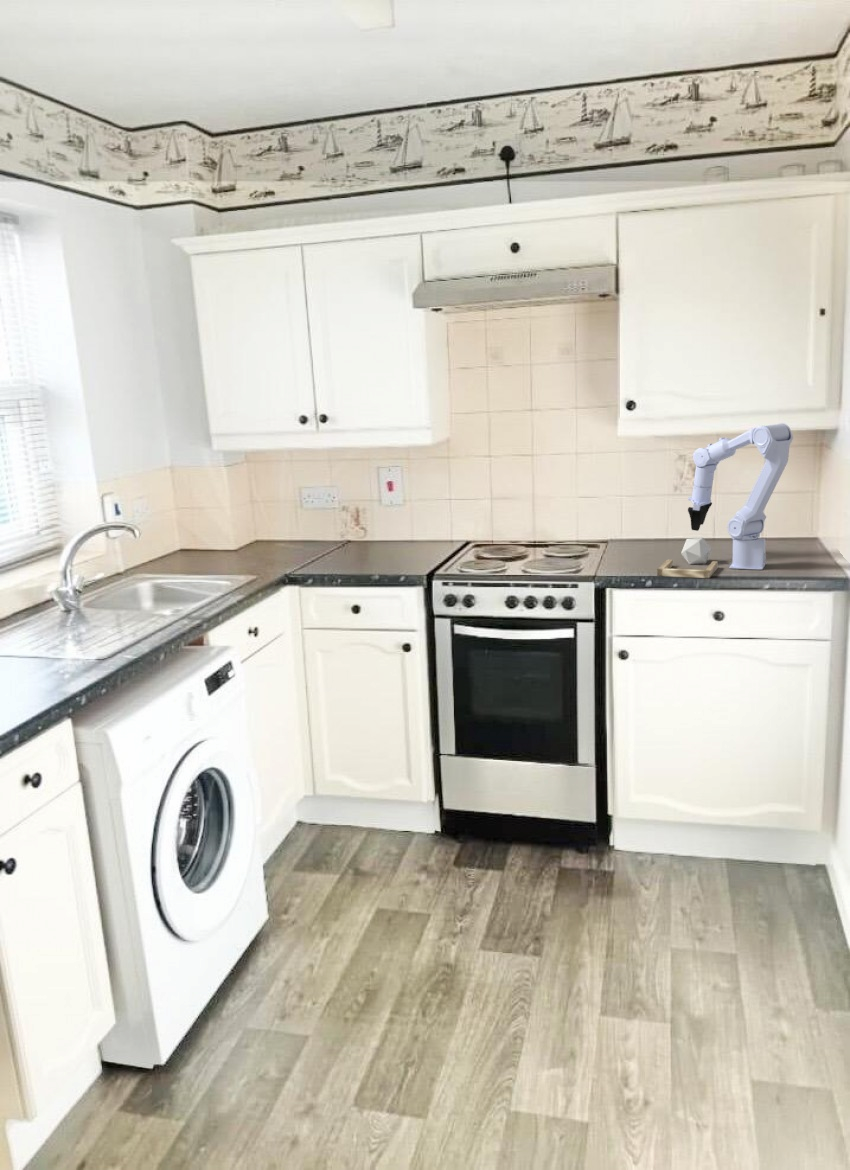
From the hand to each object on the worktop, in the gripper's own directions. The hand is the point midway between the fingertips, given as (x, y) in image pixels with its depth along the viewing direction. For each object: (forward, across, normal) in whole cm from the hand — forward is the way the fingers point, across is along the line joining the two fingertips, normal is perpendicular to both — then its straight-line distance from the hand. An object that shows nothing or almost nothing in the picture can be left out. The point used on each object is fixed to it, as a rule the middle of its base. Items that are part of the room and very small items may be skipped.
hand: (697, 527), depth 288 cm
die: (+10, +8, +2) cm, 13 cm away
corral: (+8, +21, +2) cm, 22 cm away
